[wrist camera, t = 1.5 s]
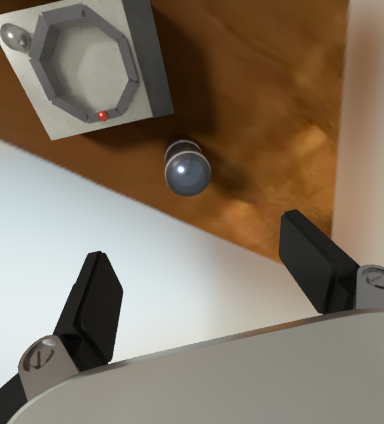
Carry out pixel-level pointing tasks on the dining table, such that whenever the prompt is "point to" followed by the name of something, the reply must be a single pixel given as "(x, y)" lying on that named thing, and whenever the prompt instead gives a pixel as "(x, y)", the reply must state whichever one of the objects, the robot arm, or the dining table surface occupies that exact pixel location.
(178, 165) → the lens
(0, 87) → the dining table surface
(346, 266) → the robot arm
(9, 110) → the dining table surface
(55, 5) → the grey striped block
